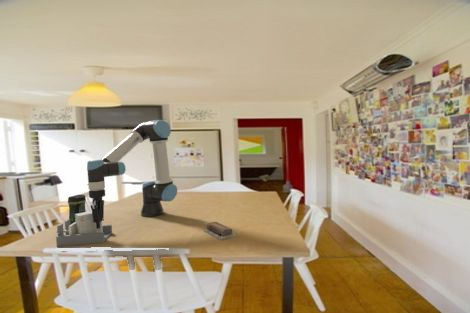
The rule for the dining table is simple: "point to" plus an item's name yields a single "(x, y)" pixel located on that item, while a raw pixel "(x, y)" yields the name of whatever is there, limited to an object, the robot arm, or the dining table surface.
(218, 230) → the packaged product
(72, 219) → the coffee jar
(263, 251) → the dining table surface
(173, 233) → the dining table surface
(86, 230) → the small box
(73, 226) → the grey open holder
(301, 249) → the dining table surface
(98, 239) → the grey slotted tray
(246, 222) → the dining table surface
